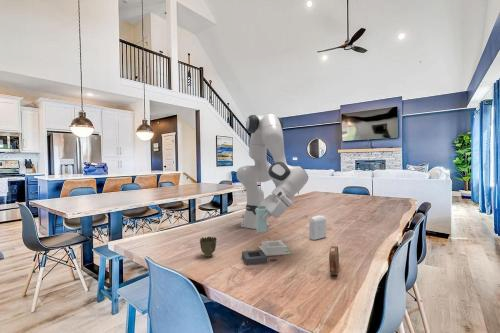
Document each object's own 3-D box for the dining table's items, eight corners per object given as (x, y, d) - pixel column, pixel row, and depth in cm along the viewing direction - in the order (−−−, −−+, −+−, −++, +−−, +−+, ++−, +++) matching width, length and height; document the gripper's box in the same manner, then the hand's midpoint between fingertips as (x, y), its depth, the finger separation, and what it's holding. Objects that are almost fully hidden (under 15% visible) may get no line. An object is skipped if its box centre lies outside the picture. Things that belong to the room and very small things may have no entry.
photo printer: (321, 235, 146) (321, 213, 145) (327, 237, 142) (327, 215, 142) (308, 238, 140) (308, 216, 140) (314, 240, 137) (314, 217, 136)
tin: (337, 279, 94) (337, 256, 93) (328, 278, 95) (328, 255, 95) (339, 263, 108) (339, 243, 107) (331, 262, 109) (331, 242, 109)
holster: (242, 257, 115) (241, 251, 115) (261, 255, 117) (261, 249, 117) (246, 265, 106) (246, 259, 106) (267, 263, 108) (267, 257, 108)
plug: (255, 229, 118) (256, 205, 117) (264, 229, 119) (264, 204, 118) (258, 232, 114) (258, 206, 113) (266, 231, 115) (267, 206, 114)
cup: (202, 253, 120) (201, 236, 120) (217, 253, 120) (217, 236, 119) (198, 259, 112) (198, 241, 112) (215, 259, 112) (215, 241, 112)
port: (258, 247, 127) (258, 241, 127) (281, 245, 130) (281, 239, 130) (265, 256, 116) (265, 249, 116) (290, 253, 119) (290, 247, 118)
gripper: (269, 188, 127) (250, 209, 125) (283, 195, 107) (260, 219, 105) (278, 197, 128) (259, 217, 127) (293, 205, 108) (271, 229, 107)
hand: (260, 218), depth 116 cm, fingers closed on plug, 4 cm apart
